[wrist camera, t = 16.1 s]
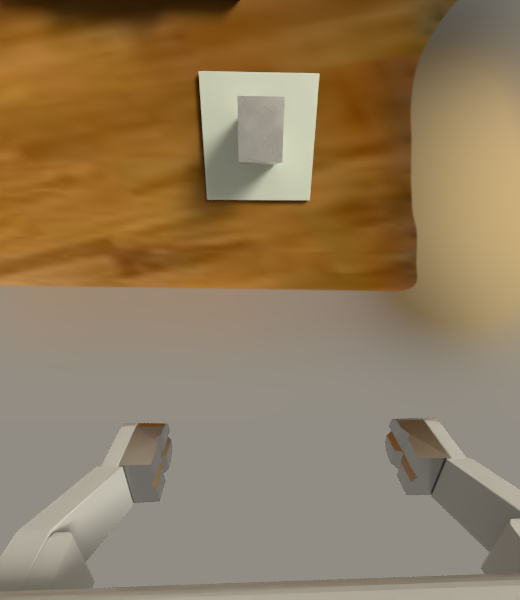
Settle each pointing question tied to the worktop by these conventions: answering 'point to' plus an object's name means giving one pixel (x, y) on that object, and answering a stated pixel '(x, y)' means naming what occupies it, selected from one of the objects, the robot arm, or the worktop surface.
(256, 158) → the grey rectangular block
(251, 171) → the cutting board
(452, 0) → the worktop surface
